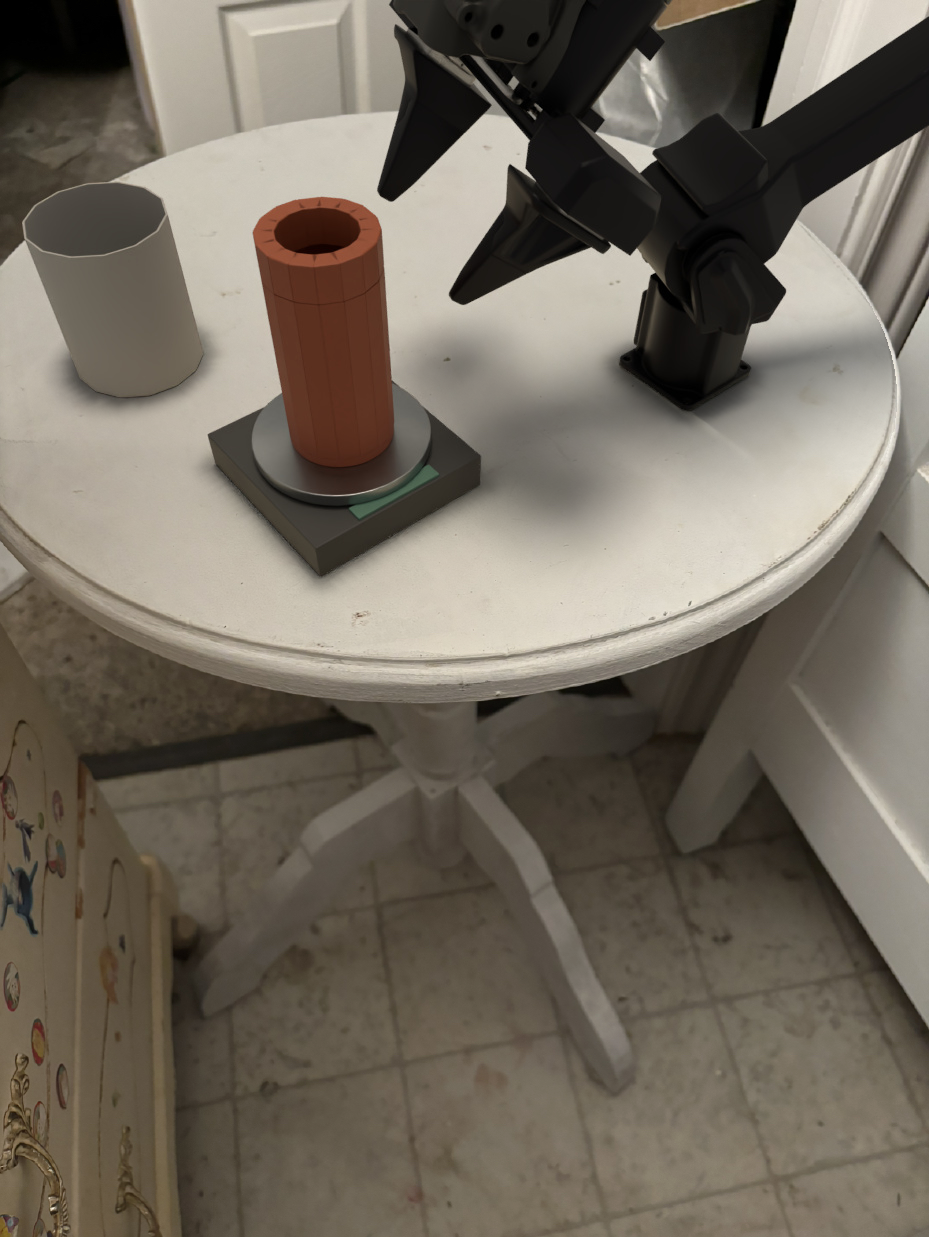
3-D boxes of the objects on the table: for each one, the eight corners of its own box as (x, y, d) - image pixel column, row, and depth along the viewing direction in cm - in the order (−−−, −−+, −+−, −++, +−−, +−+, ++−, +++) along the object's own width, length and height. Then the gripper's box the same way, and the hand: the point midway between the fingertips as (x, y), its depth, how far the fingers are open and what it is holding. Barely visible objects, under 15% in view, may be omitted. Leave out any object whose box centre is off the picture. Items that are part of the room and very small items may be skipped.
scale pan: (467, 451, 54) (467, 441, 54) (318, 534, 50) (316, 524, 49) (363, 363, 59) (362, 352, 58) (220, 432, 55) (217, 422, 54)
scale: (480, 485, 56) (481, 452, 54) (320, 577, 52) (314, 546, 50) (368, 387, 62) (365, 354, 59) (215, 463, 57) (205, 431, 55)
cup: (52, 380, 62) (-8, 241, 54) (118, 310, 66) (72, 172, 58) (165, 408, 60) (120, 269, 52) (224, 334, 65) (192, 196, 57)
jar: (358, 384, 56) (338, 184, 46) (414, 439, 54) (405, 238, 44) (271, 423, 54) (230, 221, 44) (324, 482, 51) (293, 281, 41)
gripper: (408, -248, 40) (232, 82, 48) (632, -54, 31) (374, 310, 39) (560, -86, 48) (390, 173, 56) (771, 103, 40) (536, 377, 47)
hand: (418, 247), depth 49 cm, fingers open, 9 cm apart
